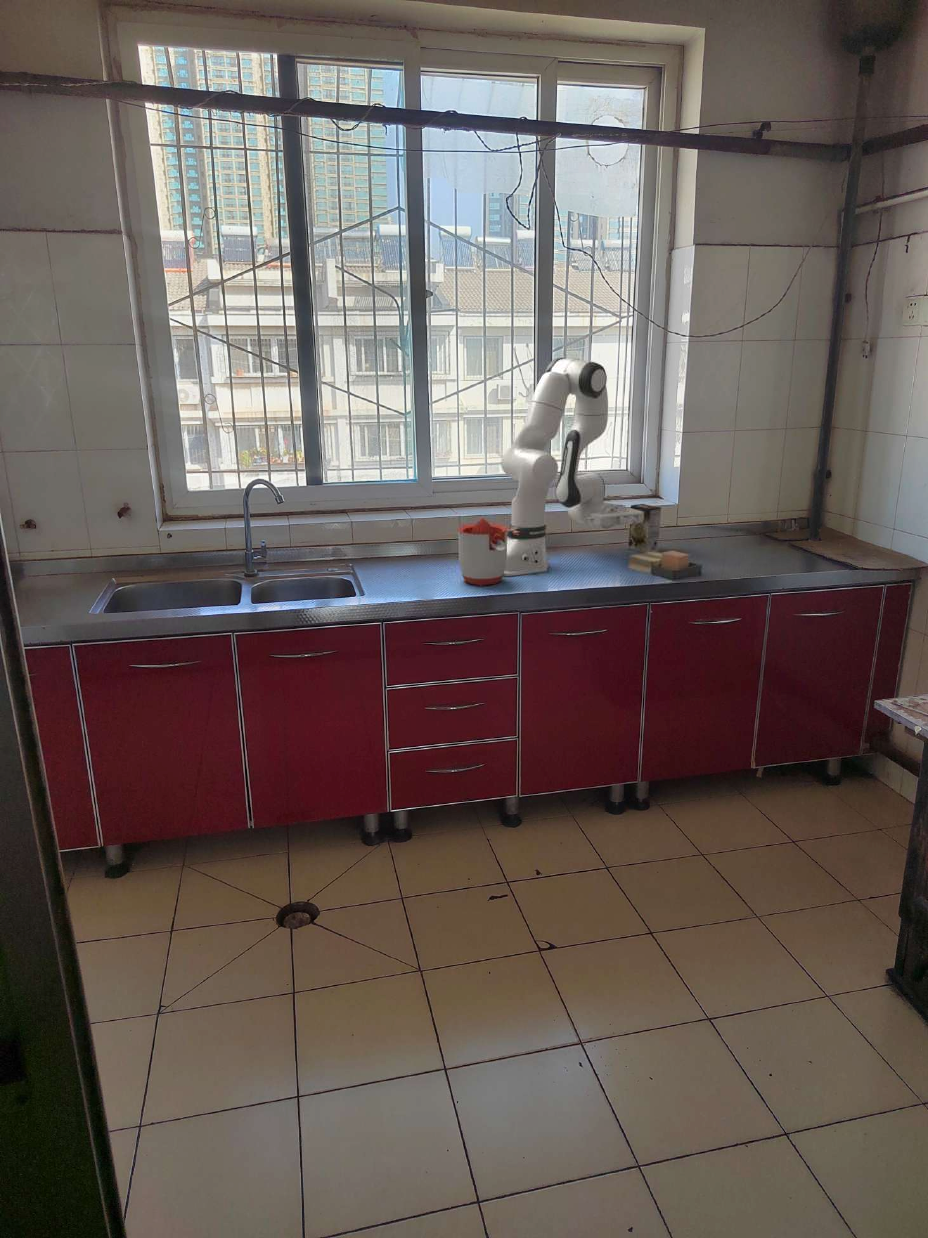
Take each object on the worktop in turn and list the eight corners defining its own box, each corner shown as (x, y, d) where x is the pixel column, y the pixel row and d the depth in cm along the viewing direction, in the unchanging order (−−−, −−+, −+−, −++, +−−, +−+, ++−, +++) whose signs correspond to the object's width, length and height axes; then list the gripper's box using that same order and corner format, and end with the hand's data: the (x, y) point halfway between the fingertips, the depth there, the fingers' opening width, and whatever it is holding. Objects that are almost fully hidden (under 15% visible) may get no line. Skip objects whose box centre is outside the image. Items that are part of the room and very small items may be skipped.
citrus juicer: (481, 592, 243) (481, 526, 237) (448, 580, 257) (447, 517, 250) (521, 583, 252) (522, 519, 246) (487, 572, 265) (487, 511, 259)
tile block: (660, 570, 262) (677, 575, 256) (661, 552, 260) (678, 556, 254) (671, 568, 264) (688, 572, 259) (672, 550, 262) (689, 554, 257)
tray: (673, 580, 252) (674, 571, 251) (650, 574, 260) (651, 565, 259) (701, 574, 259) (701, 564, 258) (678, 568, 267) (678, 559, 266)
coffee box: (627, 549, 294) (629, 505, 289) (639, 546, 298) (641, 503, 293) (646, 553, 287) (649, 508, 282) (658, 551, 291) (661, 506, 286)
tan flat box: (650, 573, 260) (651, 561, 259) (628, 567, 268) (628, 556, 267) (676, 568, 267) (676, 556, 266) (653, 562, 275) (653, 551, 274)
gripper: (583, 508, 273) (612, 514, 263) (626, 504, 285) (656, 510, 274) (582, 526, 275) (611, 533, 264) (624, 522, 287) (654, 528, 276)
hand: (634, 521), depth 269 cm, fingers closed
